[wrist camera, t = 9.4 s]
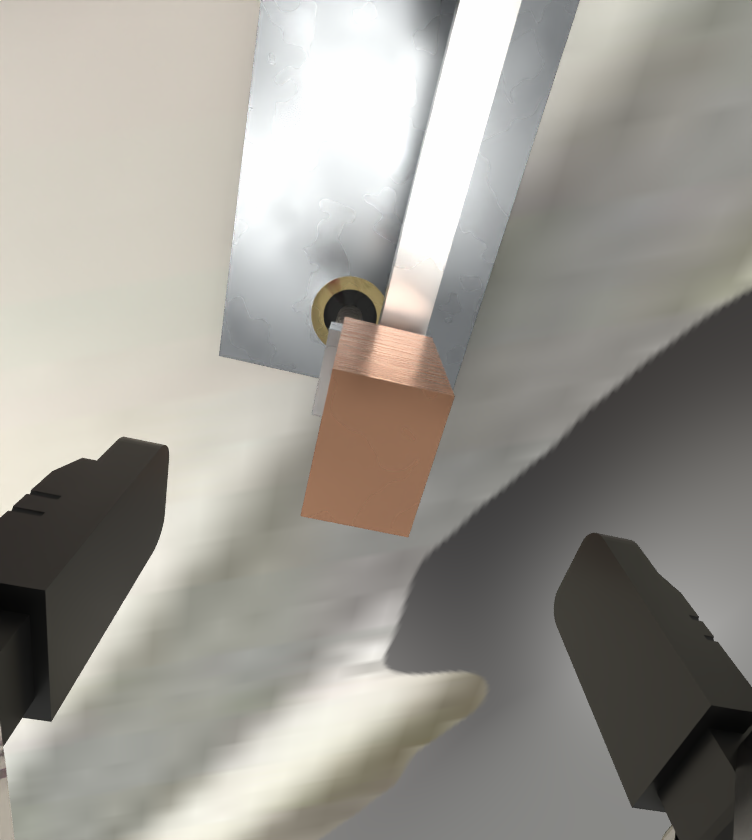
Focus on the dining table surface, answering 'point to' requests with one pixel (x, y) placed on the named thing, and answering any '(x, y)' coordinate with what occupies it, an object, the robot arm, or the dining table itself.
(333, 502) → the block
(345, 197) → the bolt plate
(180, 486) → the dining table surface
